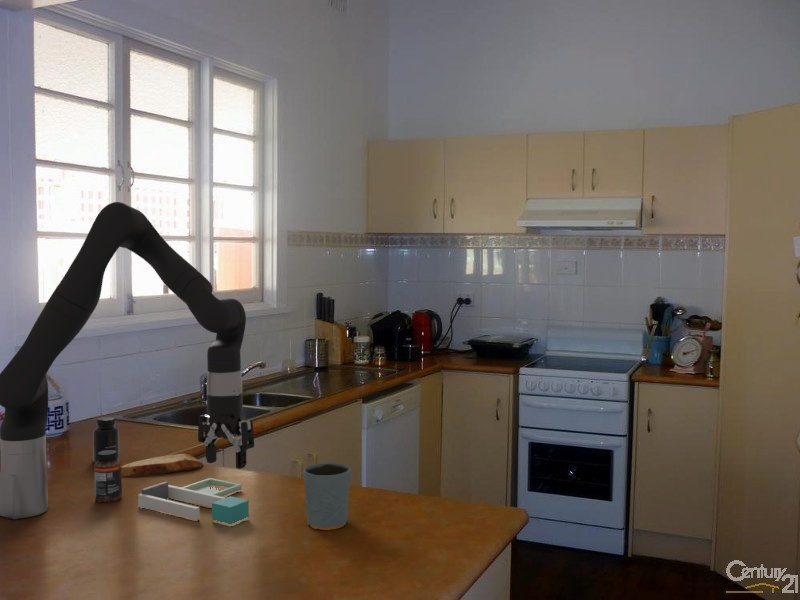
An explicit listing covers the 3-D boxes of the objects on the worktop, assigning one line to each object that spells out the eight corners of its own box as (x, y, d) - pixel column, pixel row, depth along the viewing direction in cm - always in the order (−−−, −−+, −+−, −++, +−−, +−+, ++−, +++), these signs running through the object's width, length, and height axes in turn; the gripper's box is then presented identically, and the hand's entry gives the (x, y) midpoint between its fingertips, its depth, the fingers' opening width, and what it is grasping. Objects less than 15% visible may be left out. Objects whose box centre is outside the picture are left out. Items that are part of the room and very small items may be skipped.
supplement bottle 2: (110, 493, 191) (109, 447, 190) (127, 497, 188) (126, 450, 187) (89, 500, 185) (88, 453, 185) (106, 504, 182) (105, 456, 182)
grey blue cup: (307, 533, 164) (307, 477, 163) (300, 517, 174) (300, 464, 173) (355, 529, 167) (355, 473, 166) (345, 513, 176) (345, 460, 175)
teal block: (230, 528, 168) (230, 507, 167) (212, 523, 170) (211, 502, 170) (248, 520, 172) (248, 500, 172) (230, 516, 175) (230, 496, 175)
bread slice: (111, 476, 207) (111, 462, 206) (155, 459, 223) (155, 446, 223) (168, 483, 200) (168, 469, 200) (209, 465, 217) (209, 452, 217)
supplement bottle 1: (110, 464, 216) (109, 421, 216) (88, 463, 218) (87, 420, 217) (124, 458, 223) (123, 416, 222) (102, 456, 224) (101, 415, 224)
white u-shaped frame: (196, 522, 171) (195, 504, 170) (138, 507, 180) (138, 490, 180) (225, 510, 178) (225, 493, 178) (168, 497, 188) (168, 480, 188)
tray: (209, 503, 183) (209, 495, 183) (177, 496, 189) (177, 488, 189) (241, 491, 192) (241, 484, 192) (210, 484, 198) (210, 477, 198)
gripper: (188, 391, 171) (189, 464, 172) (237, 397, 163) (238, 474, 164) (213, 385, 177) (214, 457, 178) (261, 391, 170) (262, 465, 171)
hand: (226, 465), depth 171 cm, fingers open, 8 cm apart
